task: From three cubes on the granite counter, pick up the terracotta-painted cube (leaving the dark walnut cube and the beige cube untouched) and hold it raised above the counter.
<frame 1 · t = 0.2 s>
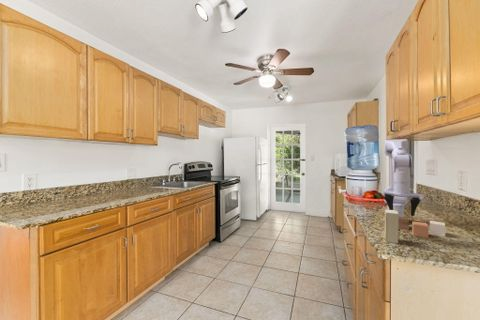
hand: (401, 213, 93), 10 cm above the worktop, tool pointing down, fingers open, 7 cm apart
beige cube: (437, 234, 97), on the worktop
terracotta cube: (420, 235, 95), on the worktop
skincare box: (391, 240, 89), on the worktop
walnut cube: (401, 227, 106), on the worktop
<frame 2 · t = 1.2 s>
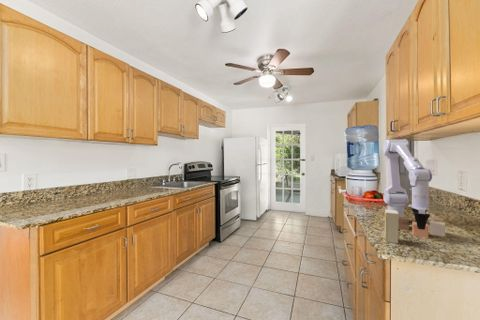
hand: (420, 226, 95), 4 cm above the worktop, tool pointing down, fingers open, 7 cm apart
nothing on the worktop moved.
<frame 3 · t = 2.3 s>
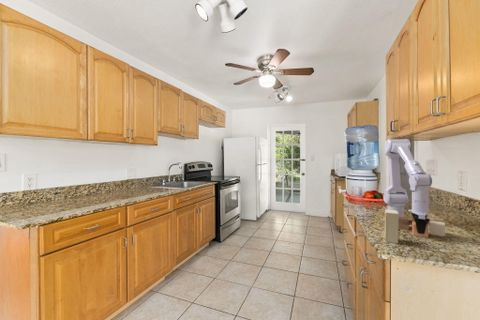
hand: (420, 231, 95), 1 cm above the worktop, tool pointing down, fingers closed on terracotta cube, 5 cm apart
terracotta cube: (420, 234, 95), on the worktop, touching gripper
everything else where it was.
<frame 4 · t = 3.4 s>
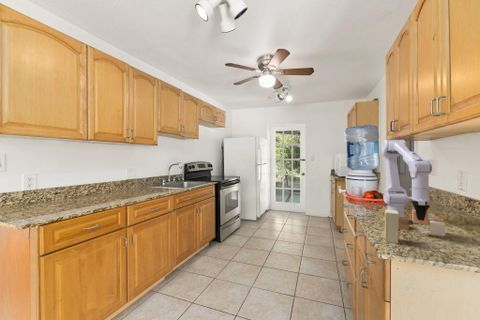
hand: (419, 218, 95), 7 cm above the worktop, tool pointing down, fingers closed on terracotta cube, 5 cm apart
terracotta cube: (420, 222, 95), point 6 cm above the worktop, touching gripper
everything else where it was.
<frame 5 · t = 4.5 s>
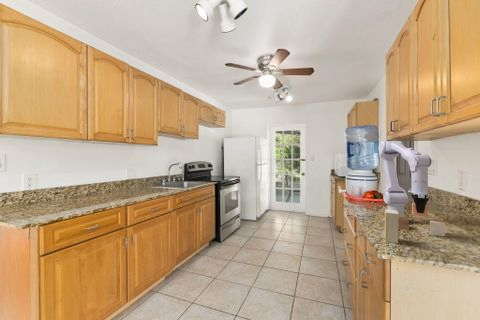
hand: (419, 211, 97), 10 cm above the worktop, tool pointing down, fingers closed on terracotta cube, 5 cm apart
terracotta cube: (419, 215, 97), point 8 cm above the worktop, touching gripper
everything else where it was.
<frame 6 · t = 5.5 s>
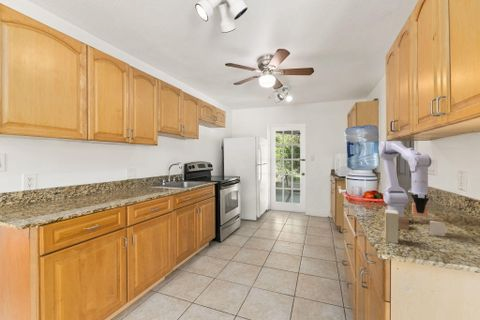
hand: (419, 211, 97), 10 cm above the worktop, tool pointing down, fingers closed on terracotta cube, 5 cm apart
terracotta cube: (419, 215, 97), point 8 cm above the worktop, touching gripper
everything else where it was.
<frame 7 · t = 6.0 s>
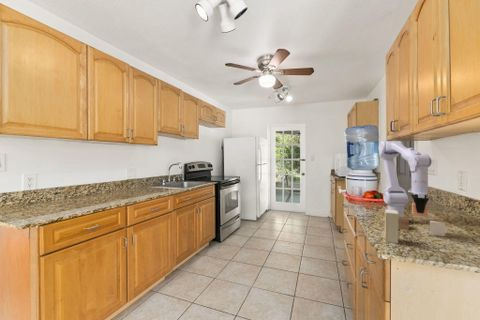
hand: (419, 211, 97), 10 cm above the worktop, tool pointing down, fingers closed on terracotta cube, 5 cm apart
terracotta cube: (419, 215, 97), point 8 cm above the worktop, touching gripper
everything else where it was.
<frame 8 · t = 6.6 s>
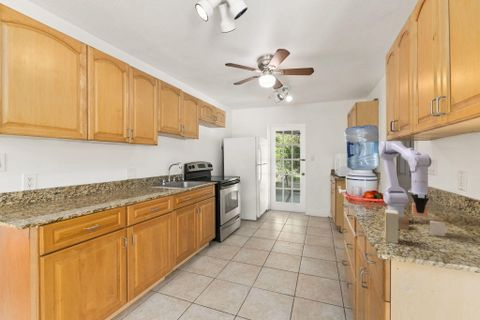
hand: (419, 211, 97), 10 cm above the worktop, tool pointing down, fingers closed on terracotta cube, 5 cm apart
terracotta cube: (419, 215, 97), point 8 cm above the worktop, touching gripper
everything else where it was.
at the end: terracotta cube point 8.3 cm above the worktop; walnut cube moved 0.1 cm from its start; beige cube moved 0.1 cm from its start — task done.
